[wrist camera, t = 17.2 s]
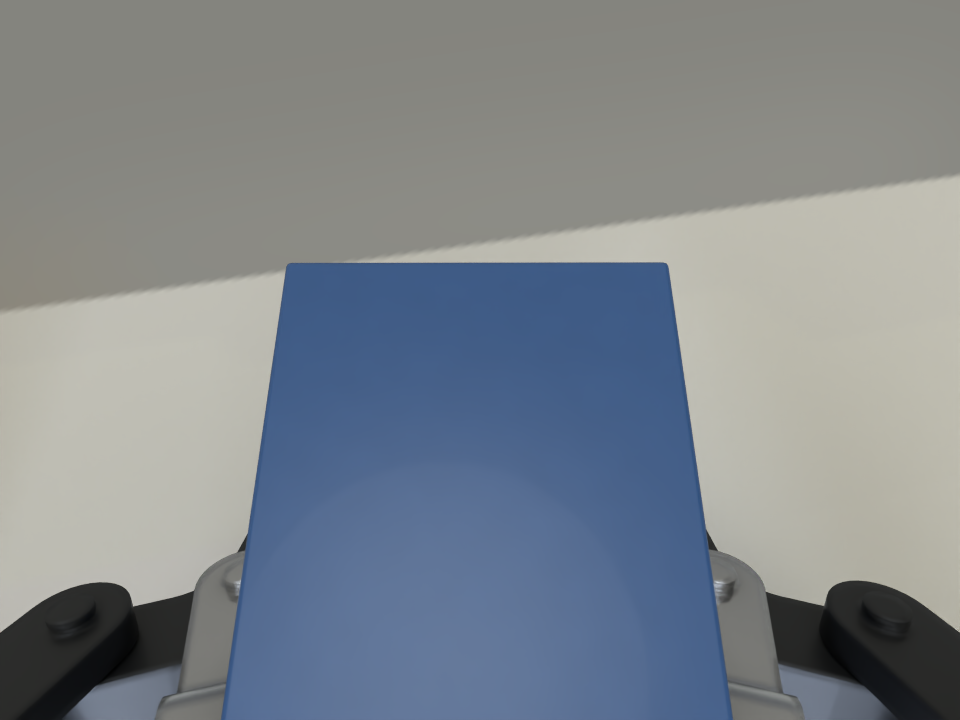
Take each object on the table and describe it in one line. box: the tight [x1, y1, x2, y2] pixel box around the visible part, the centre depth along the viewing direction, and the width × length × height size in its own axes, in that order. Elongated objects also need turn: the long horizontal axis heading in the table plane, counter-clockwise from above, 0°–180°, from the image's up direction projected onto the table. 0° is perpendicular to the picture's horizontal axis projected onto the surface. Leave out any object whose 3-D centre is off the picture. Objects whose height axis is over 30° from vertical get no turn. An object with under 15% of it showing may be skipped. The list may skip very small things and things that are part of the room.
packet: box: [221, 263, 733, 720], centre depth 11 cm, size 4×6×10 cm
